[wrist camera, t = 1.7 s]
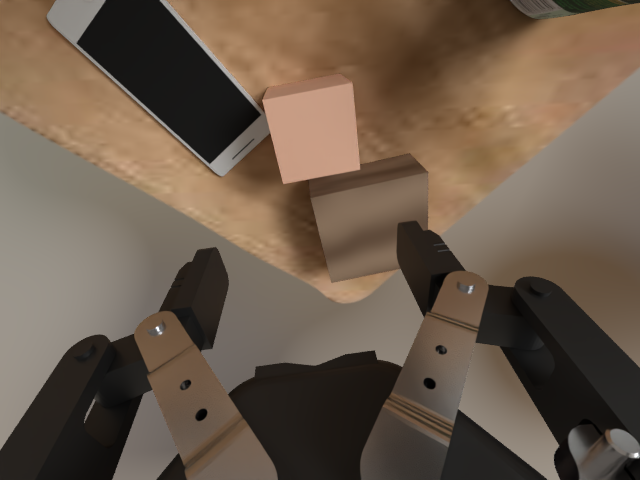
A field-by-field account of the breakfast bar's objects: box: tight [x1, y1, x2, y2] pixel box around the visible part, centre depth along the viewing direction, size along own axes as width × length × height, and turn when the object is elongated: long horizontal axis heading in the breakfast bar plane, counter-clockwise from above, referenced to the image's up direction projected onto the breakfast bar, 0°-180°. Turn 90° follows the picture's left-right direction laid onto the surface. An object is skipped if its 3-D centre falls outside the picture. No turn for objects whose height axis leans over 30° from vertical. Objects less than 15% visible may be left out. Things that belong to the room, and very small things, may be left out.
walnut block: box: [308, 153, 428, 283], centre depth 30 cm, size 10×10×5 cm
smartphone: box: [47, 0, 270, 176], centre depth 23 cm, size 7×16×1 cm, turn 39°
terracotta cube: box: [262, 73, 360, 184], centre depth 24 cm, size 6×6×6 cm
